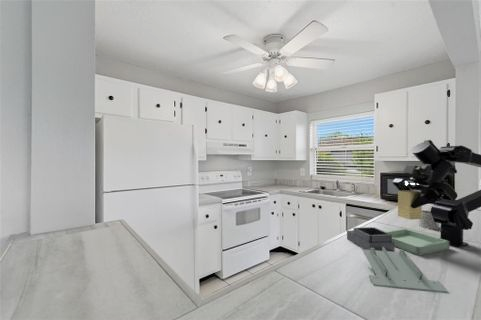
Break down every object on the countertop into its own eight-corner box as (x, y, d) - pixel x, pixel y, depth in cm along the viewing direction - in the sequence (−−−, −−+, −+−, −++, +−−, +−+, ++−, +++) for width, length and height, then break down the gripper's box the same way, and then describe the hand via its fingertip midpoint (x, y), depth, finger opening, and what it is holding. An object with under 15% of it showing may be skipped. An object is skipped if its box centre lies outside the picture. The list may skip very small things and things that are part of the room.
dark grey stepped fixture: (368, 238, 78) (368, 224, 78) (394, 251, 67) (394, 235, 67) (346, 238, 77) (347, 225, 77) (370, 252, 66) (370, 236, 66)
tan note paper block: (409, 215, 75) (409, 190, 75) (421, 219, 71) (421, 192, 71) (397, 216, 75) (398, 190, 75) (409, 219, 70) (409, 192, 70)
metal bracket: (354, 241, 60) (413, 245, 58) (352, 258, 62) (409, 263, 60) (377, 283, 47) (455, 290, 44) (373, 303, 48) (448, 312, 46)
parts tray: (404, 234, 82) (405, 228, 82) (449, 248, 70) (449, 241, 70) (376, 239, 77) (376, 232, 77) (418, 255, 64) (418, 247, 64)
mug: (441, 230, 88) (441, 214, 88) (420, 228, 92) (420, 212, 92) (435, 225, 96) (435, 210, 96) (416, 222, 100) (416, 208, 100)
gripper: (396, 157, 83) (370, 186, 81) (449, 156, 64) (417, 194, 63) (414, 177, 84) (389, 206, 82) (471, 182, 65) (440, 219, 64)
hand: (405, 205), depth 73 cm, fingers closed on tan note paper block, 4 cm apart
